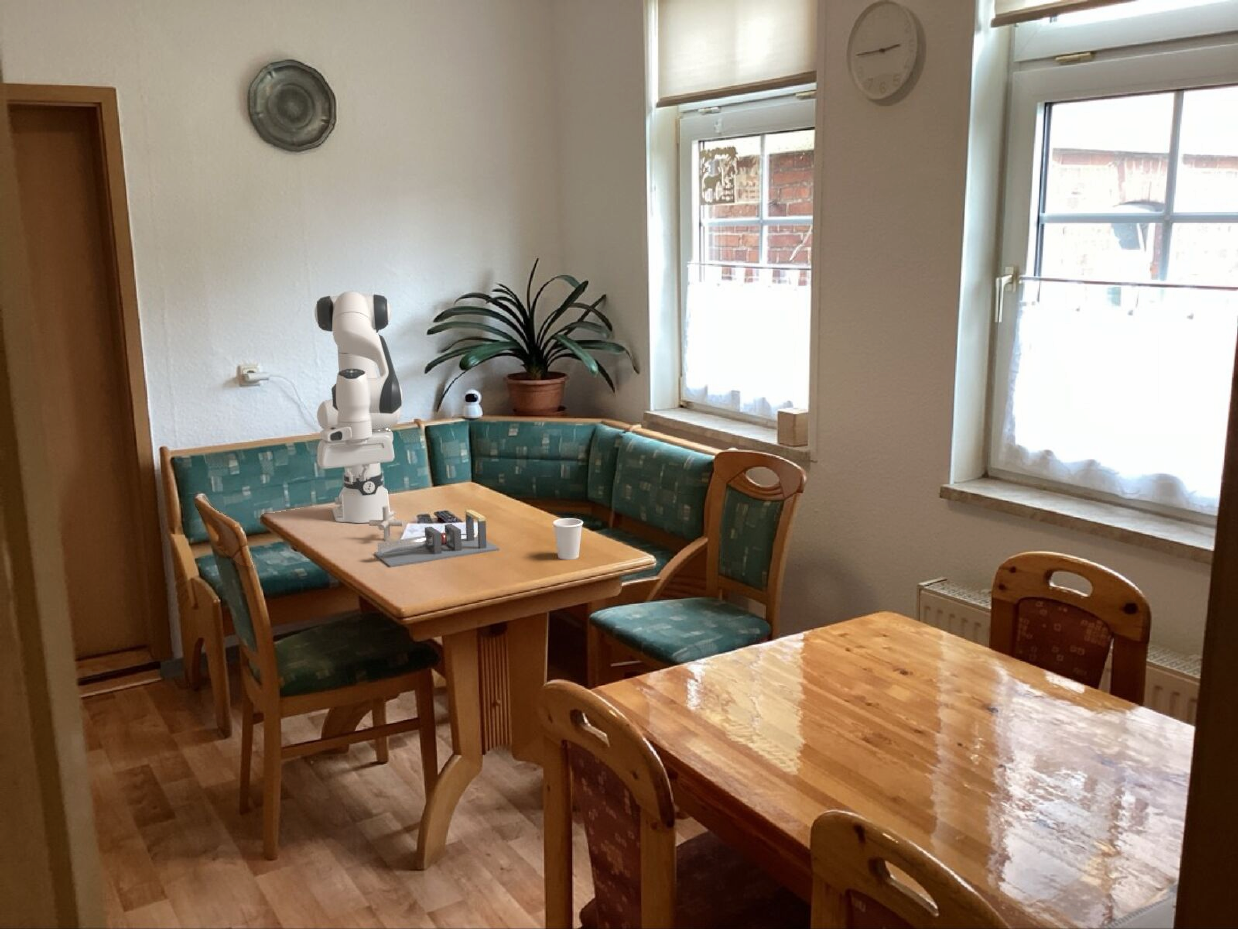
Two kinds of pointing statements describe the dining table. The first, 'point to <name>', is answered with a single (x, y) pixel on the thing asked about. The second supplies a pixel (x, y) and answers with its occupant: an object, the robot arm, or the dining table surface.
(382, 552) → the tube
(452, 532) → the collar board
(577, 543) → the dixie cup
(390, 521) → the pipe connector
